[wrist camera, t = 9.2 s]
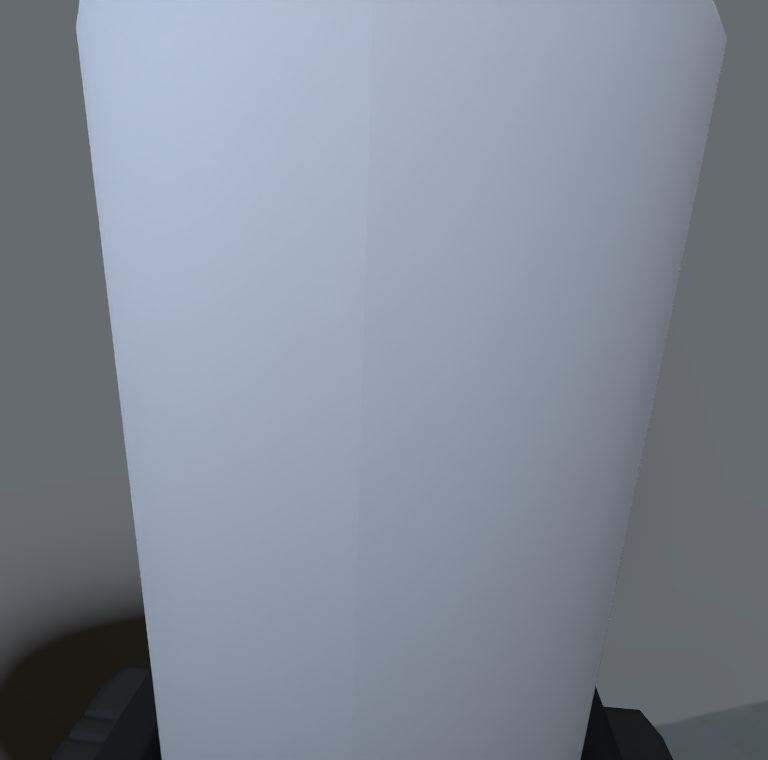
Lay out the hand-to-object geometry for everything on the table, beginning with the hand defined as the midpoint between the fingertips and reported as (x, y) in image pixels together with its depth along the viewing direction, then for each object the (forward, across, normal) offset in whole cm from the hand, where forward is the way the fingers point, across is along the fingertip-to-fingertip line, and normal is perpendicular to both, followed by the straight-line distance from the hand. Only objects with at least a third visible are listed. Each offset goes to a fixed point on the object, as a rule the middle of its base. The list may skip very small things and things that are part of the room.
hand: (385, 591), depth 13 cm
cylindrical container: (-5, 0, -14) cm, 15 cm away
